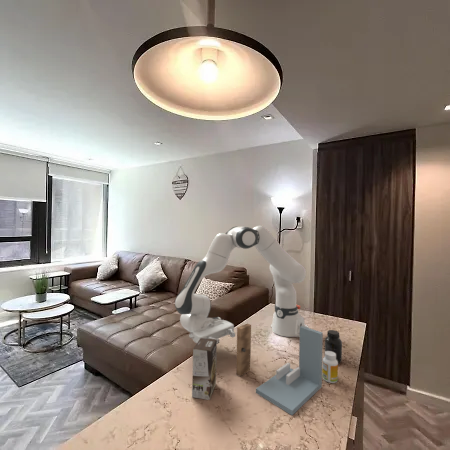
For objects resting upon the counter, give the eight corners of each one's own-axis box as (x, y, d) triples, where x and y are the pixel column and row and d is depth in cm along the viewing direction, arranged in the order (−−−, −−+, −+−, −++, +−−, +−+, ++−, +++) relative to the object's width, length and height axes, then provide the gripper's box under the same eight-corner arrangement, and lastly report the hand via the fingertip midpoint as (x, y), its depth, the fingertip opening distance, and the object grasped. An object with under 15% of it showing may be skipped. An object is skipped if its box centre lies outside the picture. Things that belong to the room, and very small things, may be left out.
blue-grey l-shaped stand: (287, 370, 100) (288, 321, 100) (321, 387, 90) (322, 332, 90) (255, 392, 86) (256, 335, 86) (292, 415, 76) (293, 351, 76)
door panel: (246, 368, 101) (247, 323, 101) (252, 371, 99) (253, 325, 99) (236, 374, 97) (237, 327, 97) (242, 377, 94) (243, 330, 95)
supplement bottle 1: (326, 354, 114) (326, 327, 114) (342, 358, 110) (343, 331, 110) (323, 360, 108) (323, 332, 108) (340, 365, 104) (341, 336, 104)
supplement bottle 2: (338, 377, 96) (339, 352, 96) (336, 385, 91) (337, 358, 91) (323, 373, 99) (324, 348, 99) (321, 380, 94) (321, 354, 94)
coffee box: (210, 400, 82) (211, 351, 82) (191, 397, 83) (192, 348, 83) (216, 383, 91) (217, 338, 91) (199, 381, 92) (200, 336, 92)
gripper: (186, 327, 108) (207, 338, 98) (221, 316, 122) (242, 324, 112) (186, 342, 108) (207, 354, 98) (221, 329, 122) (242, 338, 112)
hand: (226, 338), depth 105 cm, fingers open, 8 cm apart
